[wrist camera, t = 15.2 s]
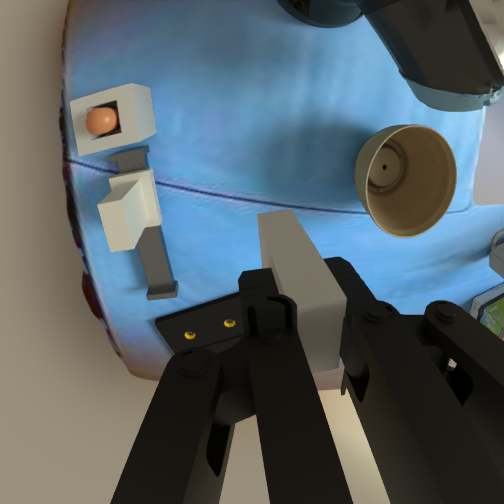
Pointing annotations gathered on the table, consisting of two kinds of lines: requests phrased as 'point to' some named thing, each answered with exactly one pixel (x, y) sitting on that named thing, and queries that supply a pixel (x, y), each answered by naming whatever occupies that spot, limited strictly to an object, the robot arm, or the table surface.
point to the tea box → (490, 310)
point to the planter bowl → (406, 179)
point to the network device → (497, 255)
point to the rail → (149, 235)
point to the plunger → (102, 120)
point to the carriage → (129, 208)
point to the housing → (130, 114)
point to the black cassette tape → (204, 325)
